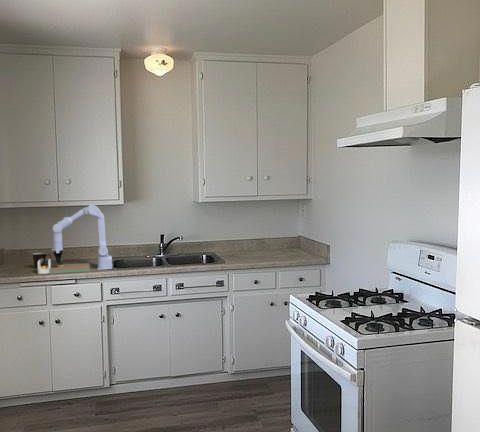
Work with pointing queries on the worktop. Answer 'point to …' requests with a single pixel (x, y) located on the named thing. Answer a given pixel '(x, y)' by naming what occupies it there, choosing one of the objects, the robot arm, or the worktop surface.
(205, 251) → the worktop surface
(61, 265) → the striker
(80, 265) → the pitch
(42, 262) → the coffee mug
